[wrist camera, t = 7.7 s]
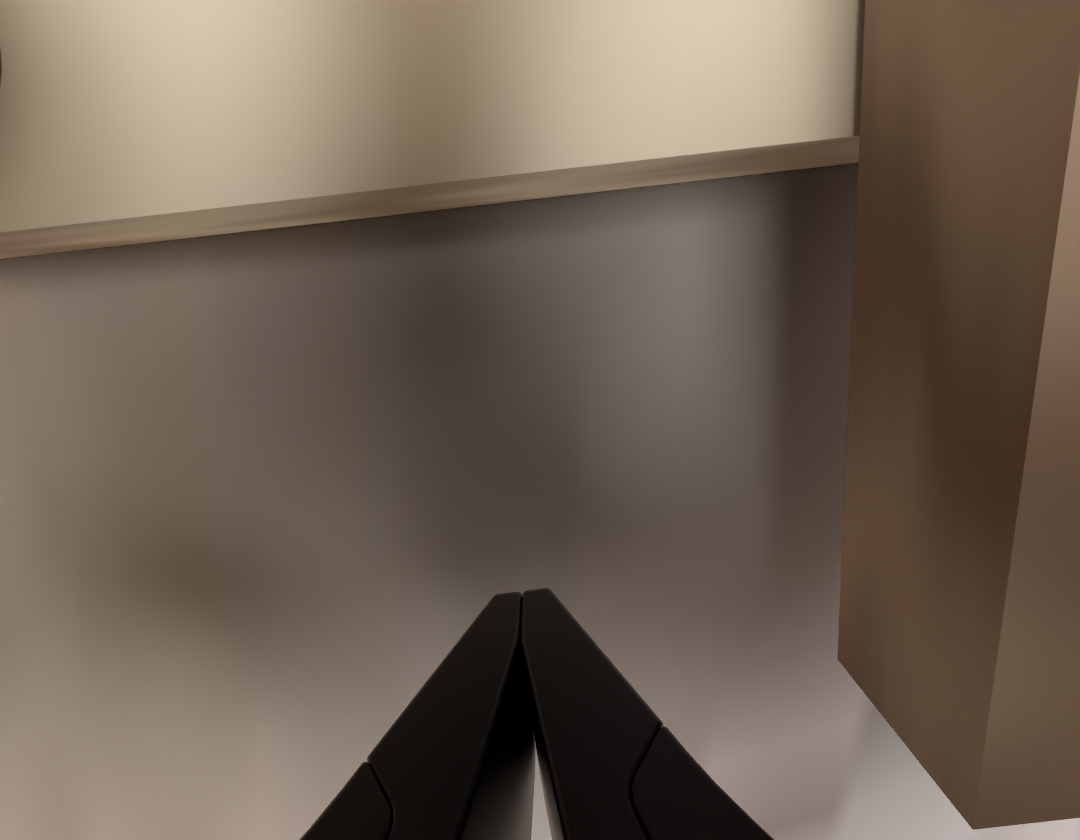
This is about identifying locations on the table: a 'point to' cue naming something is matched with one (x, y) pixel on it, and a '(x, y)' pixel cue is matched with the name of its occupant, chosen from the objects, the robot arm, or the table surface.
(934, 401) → the hinged leg
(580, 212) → the table surface
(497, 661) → the robot arm
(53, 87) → the stool seat
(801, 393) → the table surface
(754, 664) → the table surface
